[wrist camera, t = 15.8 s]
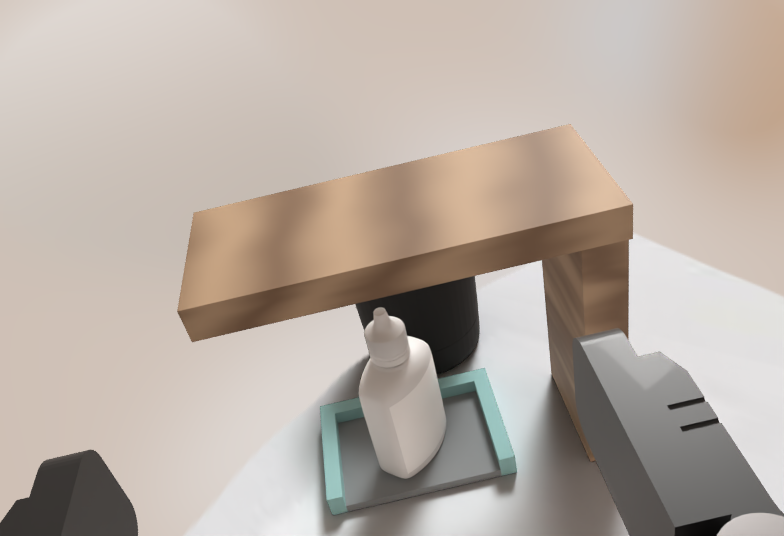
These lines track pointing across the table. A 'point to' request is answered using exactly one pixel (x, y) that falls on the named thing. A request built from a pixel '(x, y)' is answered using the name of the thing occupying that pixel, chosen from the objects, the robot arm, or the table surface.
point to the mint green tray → (446, 470)
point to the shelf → (423, 241)
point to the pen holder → (435, 318)
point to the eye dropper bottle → (401, 397)
